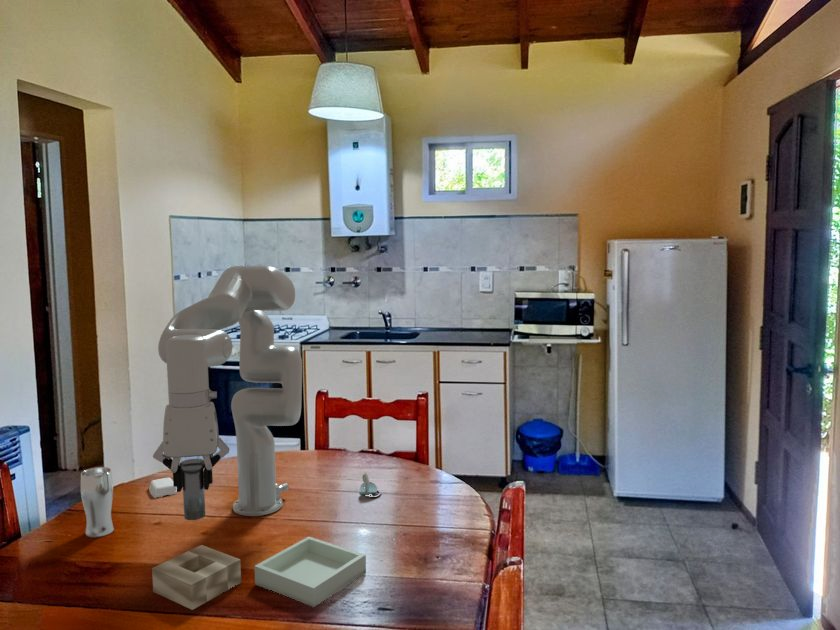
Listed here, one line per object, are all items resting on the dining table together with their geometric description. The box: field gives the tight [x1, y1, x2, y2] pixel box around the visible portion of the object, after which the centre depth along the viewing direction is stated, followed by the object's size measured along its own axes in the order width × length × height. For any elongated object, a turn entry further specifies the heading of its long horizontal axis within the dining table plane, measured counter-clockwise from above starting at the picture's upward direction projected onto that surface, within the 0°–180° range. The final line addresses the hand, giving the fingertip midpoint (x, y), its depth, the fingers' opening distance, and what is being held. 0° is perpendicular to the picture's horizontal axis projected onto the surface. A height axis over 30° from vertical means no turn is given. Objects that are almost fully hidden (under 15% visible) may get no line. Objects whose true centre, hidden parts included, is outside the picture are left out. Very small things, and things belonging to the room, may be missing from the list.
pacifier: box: [359, 472, 378, 496], centre depth 183 cm, size 7×6×6 cm
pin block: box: [151, 544, 242, 611], centre depth 135 cm, size 12×12×5 cm
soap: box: [148, 477, 179, 499], centre depth 187 cm, size 9×7×3 cm
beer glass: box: [80, 466, 115, 538], centre depth 160 cm, size 7×7×15 cm
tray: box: [254, 536, 367, 608], centre depth 138 cm, size 16×16×4 cm
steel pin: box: [179, 458, 206, 521], centre depth 133 cm, size 5×5×11 cm
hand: (193, 487), depth 133 cm, fingers closed on steel pin, 4 cm apart
